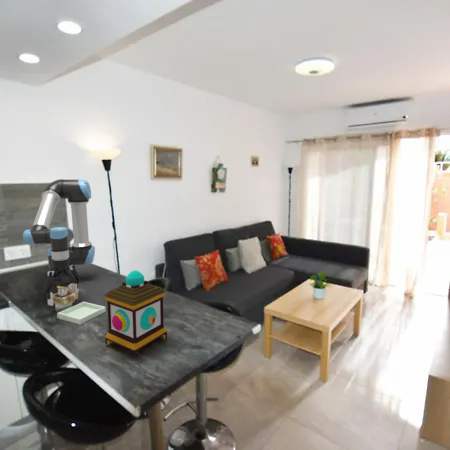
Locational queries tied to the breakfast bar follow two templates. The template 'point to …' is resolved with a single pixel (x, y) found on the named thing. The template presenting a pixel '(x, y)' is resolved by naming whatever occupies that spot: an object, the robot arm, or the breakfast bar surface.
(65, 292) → the grey piece
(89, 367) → the breakfast bar surface
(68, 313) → the tray
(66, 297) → the tan wooden square frame
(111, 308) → the decorative lantern
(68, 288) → the game die
